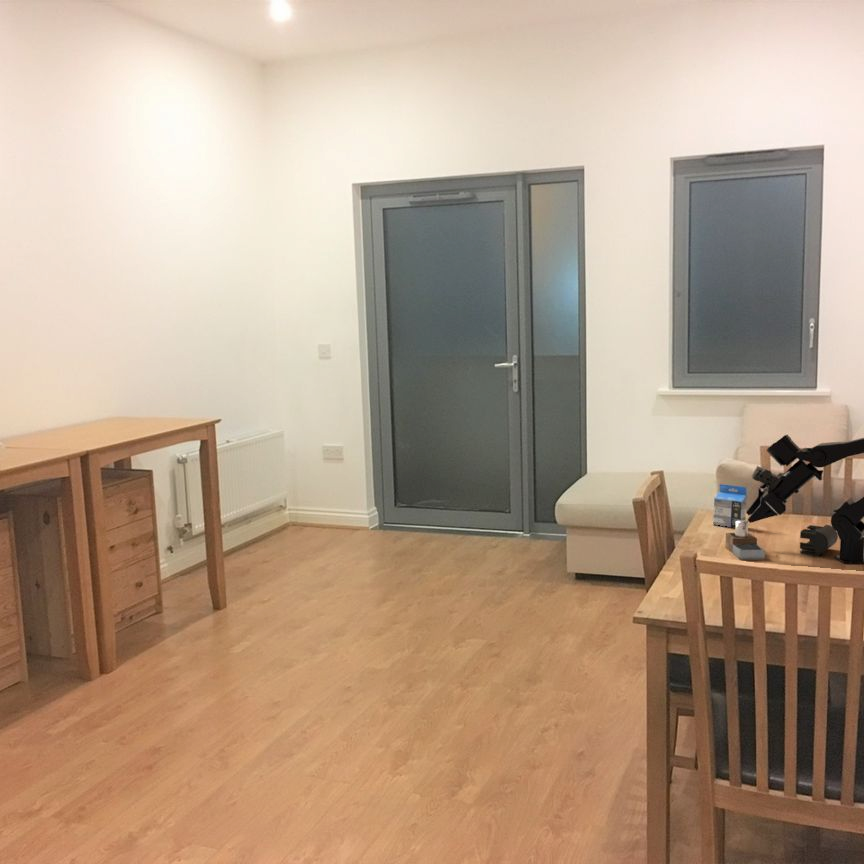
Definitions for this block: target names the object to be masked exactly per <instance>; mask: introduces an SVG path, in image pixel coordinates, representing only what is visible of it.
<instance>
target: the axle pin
mask: <svg viewBox="0 0 864 864" xmlns="http://www.w3.org/2000/svg"><path fill="white" fill-rule="evenodd" d="M748 527H749V521H748V520H747V519H746V520H736V523H735V528H734V533H735V538H747V537H748V533H749V532H748V531H749V529H748Z"/></svg>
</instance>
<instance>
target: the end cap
mask: <svg viewBox="0 0 864 864" xmlns="http://www.w3.org/2000/svg"><path fill="white" fill-rule="evenodd" d="M799 537H800V539H806V540H809V541H807V542H799V549H800V551H799V552H800V553H799V554H801V555H807V556H808V555H809V556H815V557H817V556H820V555H822V554H823V553H825V552H826V551H827V550H829V549H830V548H831V547H832V546H834V545H835V544H836V543H837V541H838V538H839V536H838V533H837V531H836V530H835V529H834V528H833V527H832V525H831V524H830V525H829V524H825V525H824V526H819V525H811V524H810V525H809V526H807V528H803V529H802V530H800V535H799Z"/></svg>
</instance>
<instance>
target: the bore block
mask: <svg viewBox="0 0 864 864" xmlns="http://www.w3.org/2000/svg"><path fill="white" fill-rule="evenodd" d="M733 544H758V538H757V537H756V536H754V535H753V534H752V533H751V532H748V537H747V538H735V532H726V533H725V548H726V549H727V550H729V551H730V553H732V554H733Z"/></svg>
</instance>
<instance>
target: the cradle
mask: <svg viewBox="0 0 864 864" xmlns="http://www.w3.org/2000/svg"><path fill="white" fill-rule="evenodd" d="M732 554H733V555H734V556H735V557H737V559H739V558H740V559H739V560H741V561H745V560H744V559H748V560H749V561H751V560H752V561H753V560H756V561H757V560H758V561H759V560H762V561H763V560H766V558H765V557H766V550H765V549H764V548H763V547H762V546H760V544H758V543H757V544H733V553H732Z"/></svg>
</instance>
